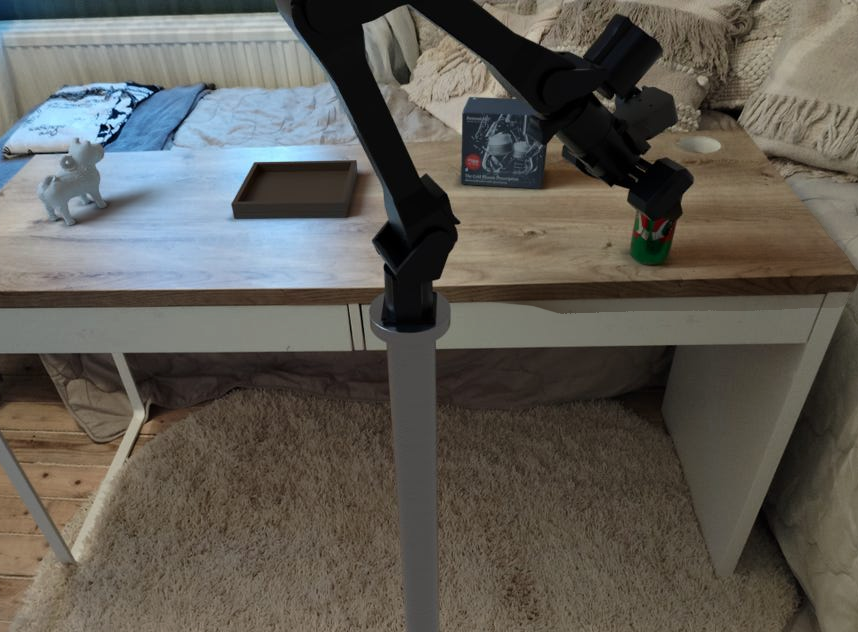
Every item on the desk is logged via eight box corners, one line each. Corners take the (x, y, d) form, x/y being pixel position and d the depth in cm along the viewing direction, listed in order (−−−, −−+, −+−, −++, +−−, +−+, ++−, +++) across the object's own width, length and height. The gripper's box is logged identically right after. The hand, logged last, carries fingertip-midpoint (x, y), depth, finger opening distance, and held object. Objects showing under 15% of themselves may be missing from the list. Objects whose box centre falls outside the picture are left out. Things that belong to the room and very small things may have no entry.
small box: (459, 185, 114) (460, 111, 106) (465, 168, 119) (467, 96, 112) (542, 190, 111) (549, 114, 104) (545, 171, 116) (552, 98, 109)
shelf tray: (346, 217, 108) (344, 202, 106) (234, 218, 109) (231, 203, 108) (357, 174, 120) (356, 160, 118) (256, 175, 121) (254, 162, 120)
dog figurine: (125, 195, 118) (106, 133, 112) (66, 229, 110) (42, 164, 103) (102, 190, 120) (82, 129, 114) (43, 223, 112) (17, 158, 105)
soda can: (672, 252, 94) (692, 167, 87) (662, 270, 91) (681, 184, 84) (635, 244, 97) (650, 160, 89) (623, 261, 93) (638, 176, 86)
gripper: (698, 95, 70) (759, 177, 79) (593, 48, 84) (656, 123, 93) (617, 185, 73) (685, 254, 82) (530, 126, 87) (596, 190, 96)
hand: (655, 200), depth 89 cm, fingers open, 9 cm apart
